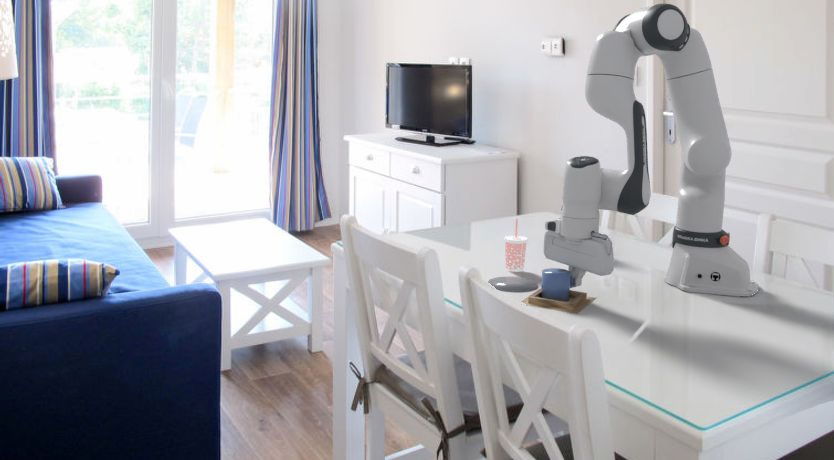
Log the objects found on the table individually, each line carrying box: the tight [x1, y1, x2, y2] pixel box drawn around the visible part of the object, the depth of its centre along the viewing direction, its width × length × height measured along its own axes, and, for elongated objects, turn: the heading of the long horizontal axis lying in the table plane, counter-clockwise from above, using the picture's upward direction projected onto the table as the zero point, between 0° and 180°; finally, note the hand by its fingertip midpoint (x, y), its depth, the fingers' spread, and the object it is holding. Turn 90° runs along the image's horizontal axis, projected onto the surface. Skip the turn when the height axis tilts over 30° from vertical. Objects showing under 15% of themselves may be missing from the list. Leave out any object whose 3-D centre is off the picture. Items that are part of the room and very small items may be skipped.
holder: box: [520, 288, 597, 315], centre depth 205 cm, size 14×14×2 cm
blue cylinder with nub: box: [540, 267, 577, 302], centre depth 206 cm, size 10×6×6 cm
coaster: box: [487, 276, 538, 293], centre depth 217 cm, size 12×12×1 cm
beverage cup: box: [503, 218, 529, 273], centre depth 230 cm, size 6×6×14 cm
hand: (576, 285), depth 207 cm, fingers closed
